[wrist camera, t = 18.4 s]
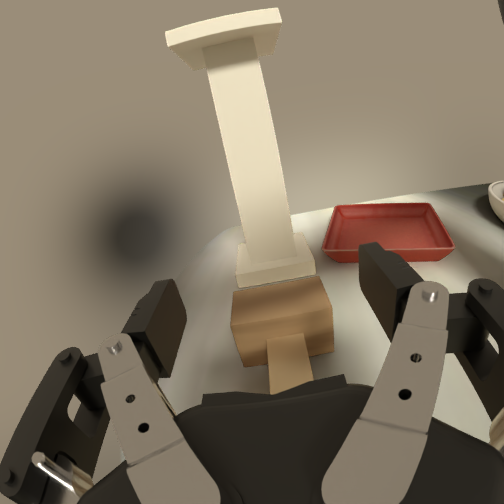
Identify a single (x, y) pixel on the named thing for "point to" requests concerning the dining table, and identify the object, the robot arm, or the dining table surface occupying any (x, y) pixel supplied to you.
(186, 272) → the dining table surface
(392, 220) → the plant saucer
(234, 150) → the tall stand
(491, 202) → the bowl
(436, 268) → the dining table surface
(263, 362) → the beech mallet
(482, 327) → the robot arm
